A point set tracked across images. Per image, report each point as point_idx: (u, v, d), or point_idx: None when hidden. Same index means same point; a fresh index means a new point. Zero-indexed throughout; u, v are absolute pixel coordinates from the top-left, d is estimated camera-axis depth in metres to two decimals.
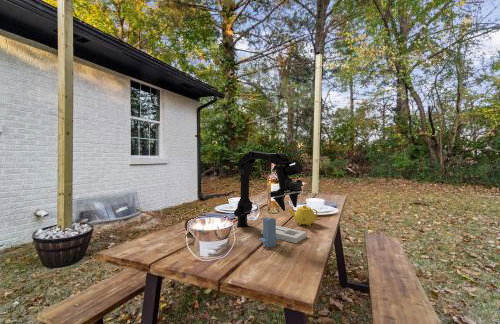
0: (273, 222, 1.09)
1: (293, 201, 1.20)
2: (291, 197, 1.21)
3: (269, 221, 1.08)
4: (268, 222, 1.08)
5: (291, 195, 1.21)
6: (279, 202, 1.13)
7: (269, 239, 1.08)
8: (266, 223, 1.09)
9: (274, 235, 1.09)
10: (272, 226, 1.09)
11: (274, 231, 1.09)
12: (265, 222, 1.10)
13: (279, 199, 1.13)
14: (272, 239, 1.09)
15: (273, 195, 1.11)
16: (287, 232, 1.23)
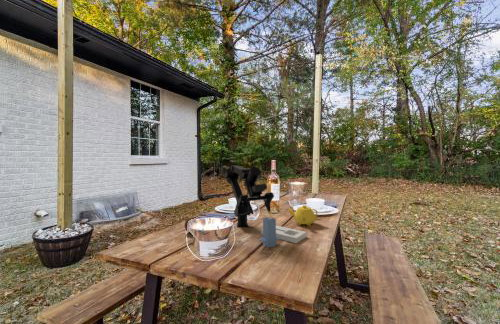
0: (273, 222, 1.09)
1: (267, 207, 1.22)
2: (265, 204, 1.24)
3: (269, 221, 1.08)
4: (268, 222, 1.08)
5: (265, 202, 1.24)
6: (247, 207, 1.18)
7: (269, 239, 1.08)
8: (266, 223, 1.09)
9: (274, 235, 1.09)
10: (272, 226, 1.09)
11: (274, 231, 1.09)
12: (265, 222, 1.10)
13: (247, 205, 1.19)
14: (272, 239, 1.09)
15: (239, 201, 1.19)
16: (287, 232, 1.23)
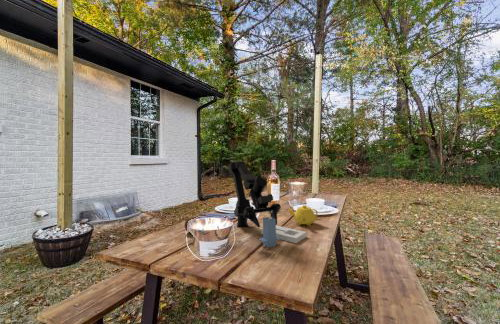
0: (273, 222, 1.09)
1: None
2: (272, 216, 1.18)
3: (269, 221, 1.08)
4: (268, 222, 1.08)
5: (271, 214, 1.19)
6: (253, 220, 1.13)
7: (269, 239, 1.08)
8: (266, 223, 1.09)
9: (274, 235, 1.09)
10: (272, 226, 1.09)
11: (274, 231, 1.09)
12: (265, 222, 1.10)
13: (252, 217, 1.13)
14: (272, 239, 1.09)
15: (244, 214, 1.13)
16: (287, 232, 1.23)
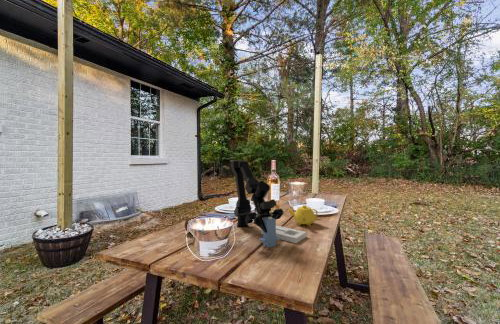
0: (273, 222, 1.09)
1: None
2: None
3: (269, 221, 1.08)
4: (268, 222, 1.08)
5: None
6: (260, 225, 1.11)
7: (269, 239, 1.08)
8: (266, 223, 1.09)
9: (274, 235, 1.09)
10: (272, 226, 1.09)
11: (274, 231, 1.09)
12: (265, 222, 1.10)
13: (259, 222, 1.12)
14: (272, 239, 1.09)
15: (246, 219, 1.11)
16: (287, 232, 1.23)
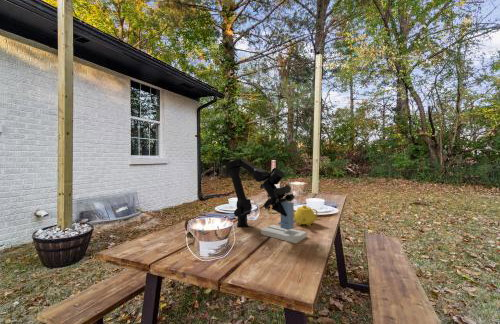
0: (292, 205, 1.16)
1: None
2: None
3: (289, 205, 1.14)
4: (288, 206, 1.14)
5: None
6: (279, 210, 1.16)
7: (289, 222, 1.15)
8: (286, 207, 1.15)
9: (292, 218, 1.16)
10: (291, 209, 1.15)
11: (292, 214, 1.16)
12: (284, 206, 1.15)
13: (277, 207, 1.17)
14: (291, 222, 1.16)
15: (267, 205, 1.14)
16: (287, 232, 1.23)
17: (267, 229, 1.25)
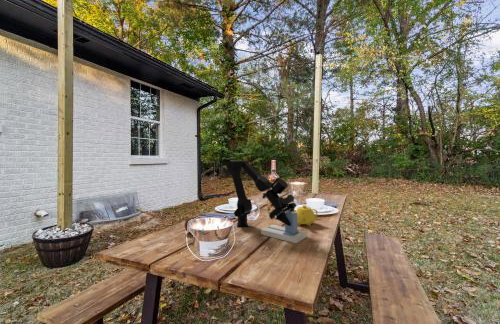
0: (296, 216, 1.19)
1: None
2: None
3: (294, 215, 1.17)
4: (293, 216, 1.17)
5: None
6: (282, 220, 1.18)
7: (294, 232, 1.18)
8: (291, 217, 1.17)
9: (296, 227, 1.20)
10: (295, 219, 1.19)
11: (296, 224, 1.20)
12: (288, 217, 1.18)
13: (281, 217, 1.18)
14: (295, 232, 1.19)
15: (272, 215, 1.16)
16: None
17: (267, 229, 1.25)
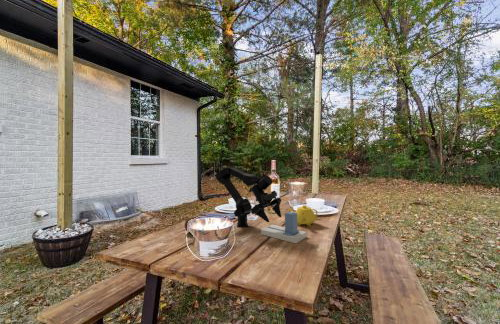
0: (296, 216, 1.19)
1: (277, 212, 1.29)
2: (275, 210, 1.30)
3: (294, 215, 1.17)
4: (293, 216, 1.17)
5: (274, 208, 1.31)
6: (262, 216, 1.23)
7: (294, 232, 1.18)
8: (291, 217, 1.17)
9: (296, 227, 1.20)
10: (295, 219, 1.19)
11: (296, 224, 1.20)
12: (288, 217, 1.18)
13: (261, 213, 1.23)
14: (295, 232, 1.19)
15: (253, 211, 1.22)
16: None
17: (267, 229, 1.25)
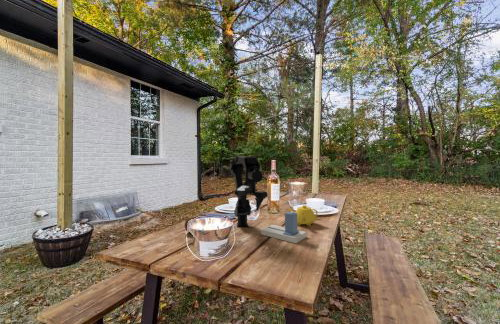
0: (296, 216, 1.19)
1: None
2: None
3: (294, 215, 1.17)
4: (293, 216, 1.17)
5: None
6: None
7: (294, 232, 1.18)
8: (291, 217, 1.17)
9: (296, 227, 1.20)
10: (295, 219, 1.19)
11: (296, 224, 1.20)
12: (288, 217, 1.18)
13: None
14: (295, 232, 1.19)
15: None
16: None
17: (267, 229, 1.25)
